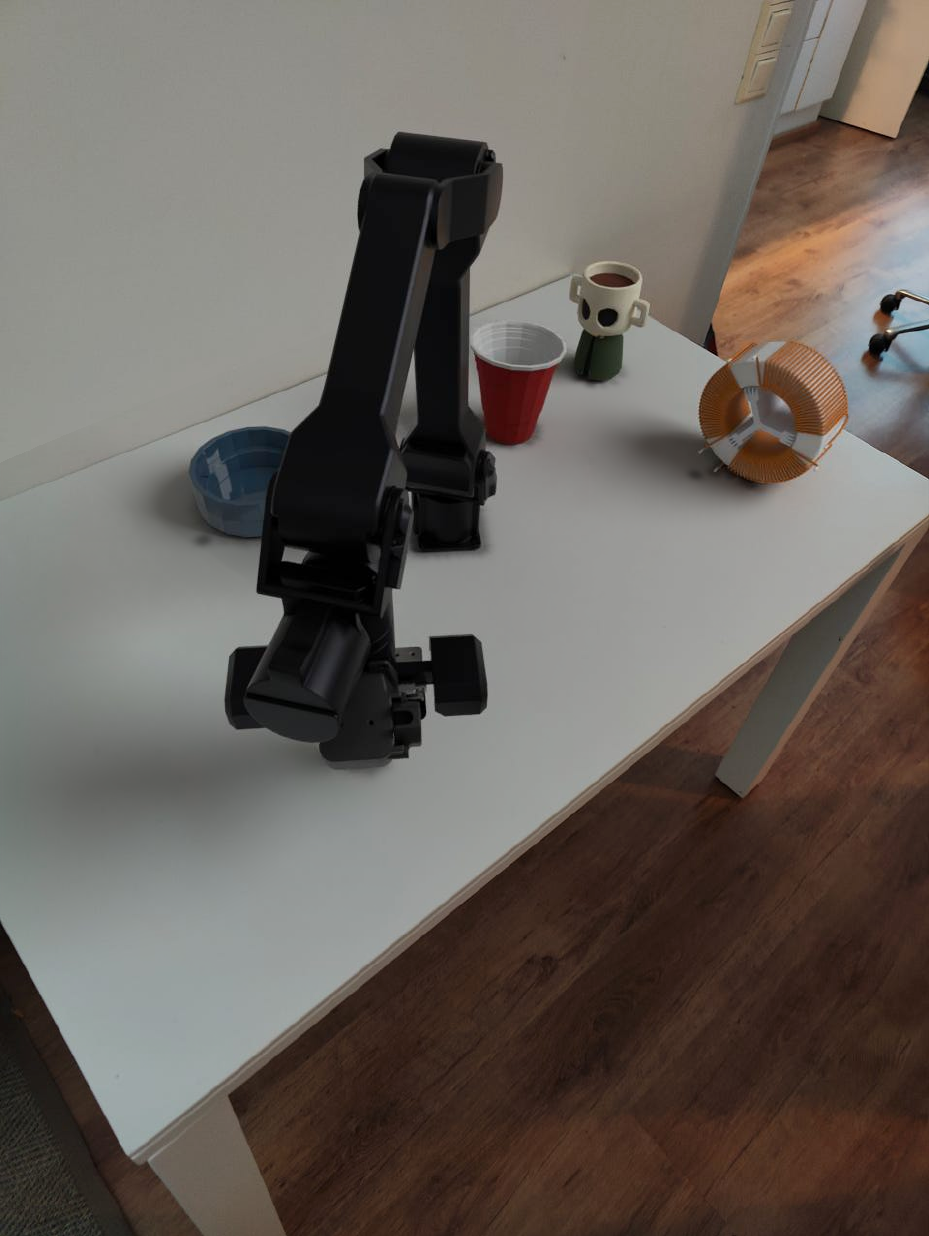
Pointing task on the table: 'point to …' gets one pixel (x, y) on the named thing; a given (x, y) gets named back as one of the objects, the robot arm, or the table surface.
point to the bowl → (237, 477)
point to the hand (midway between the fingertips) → (365, 739)
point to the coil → (773, 411)
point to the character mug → (606, 315)
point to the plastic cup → (514, 375)
